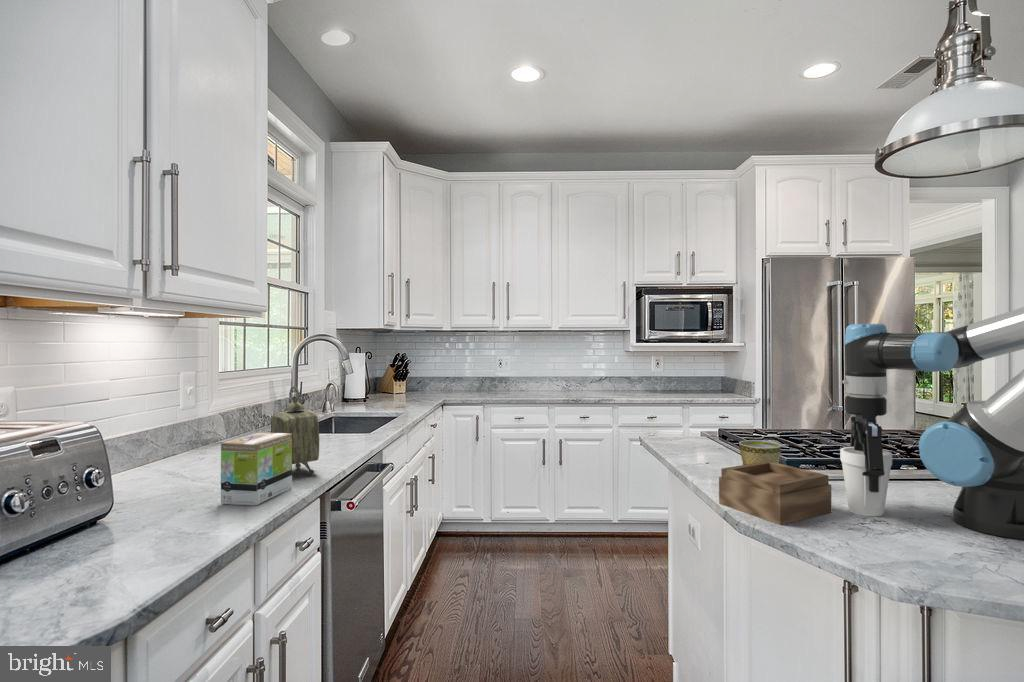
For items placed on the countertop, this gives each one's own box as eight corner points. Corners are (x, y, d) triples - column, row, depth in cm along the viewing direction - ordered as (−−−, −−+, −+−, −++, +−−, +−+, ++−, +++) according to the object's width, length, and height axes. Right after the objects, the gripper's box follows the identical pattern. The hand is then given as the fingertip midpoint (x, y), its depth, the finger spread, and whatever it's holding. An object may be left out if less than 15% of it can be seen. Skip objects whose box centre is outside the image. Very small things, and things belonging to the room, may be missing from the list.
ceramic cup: (768, 490, 137) (768, 449, 137) (731, 481, 145) (731, 443, 145) (795, 481, 145) (795, 442, 144) (758, 473, 153) (758, 437, 152)
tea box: (258, 506, 130) (257, 443, 130) (219, 505, 131) (218, 442, 131) (293, 488, 145) (292, 431, 144) (258, 487, 146) (257, 431, 146)
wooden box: (831, 512, 120) (831, 475, 120) (780, 524, 113) (780, 485, 113) (768, 493, 134) (767, 460, 134) (719, 503, 127) (718, 468, 127)
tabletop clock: (320, 475, 157) (318, 387, 156) (287, 481, 151) (285, 389, 151) (301, 466, 168) (300, 383, 167) (270, 471, 162) (268, 386, 162)
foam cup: (830, 508, 122) (830, 449, 122) (857, 502, 126) (857, 445, 126) (874, 521, 114) (874, 458, 114) (902, 514, 118) (902, 453, 117)
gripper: (834, 389, 131) (834, 484, 132) (858, 401, 110) (859, 514, 111) (871, 390, 129) (871, 487, 129) (903, 402, 108) (903, 517, 108)
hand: (865, 499), depth 120 cm, fingers closed on foam cup, 9 cm apart
